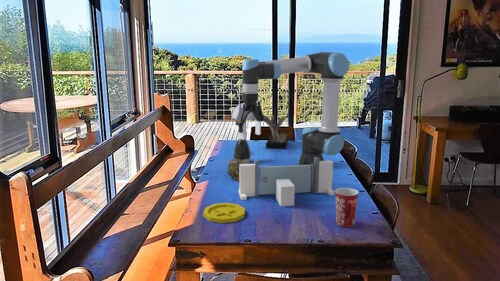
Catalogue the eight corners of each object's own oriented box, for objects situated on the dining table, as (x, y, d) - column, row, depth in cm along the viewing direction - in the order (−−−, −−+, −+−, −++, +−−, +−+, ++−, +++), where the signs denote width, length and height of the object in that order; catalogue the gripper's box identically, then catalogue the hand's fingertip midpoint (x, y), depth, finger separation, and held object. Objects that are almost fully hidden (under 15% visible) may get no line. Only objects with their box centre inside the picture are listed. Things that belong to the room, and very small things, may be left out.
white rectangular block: (288, 197, 191) (289, 179, 189) (294, 205, 181) (294, 186, 179) (275, 198, 190) (276, 179, 188) (280, 206, 180) (281, 186, 178)
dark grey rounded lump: (231, 165, 242) (231, 139, 239) (236, 160, 252) (235, 135, 248) (248, 166, 240) (248, 140, 236) (252, 161, 249) (252, 136, 246)
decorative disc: (201, 223, 164) (200, 218, 163) (207, 206, 181) (207, 202, 181) (243, 224, 163) (243, 219, 163) (245, 207, 180) (245, 203, 180)
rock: (224, 181, 212) (243, 183, 210) (225, 161, 211) (244, 162, 209) (232, 174, 231) (250, 175, 229) (233, 155, 229) (251, 157, 228)
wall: (327, 187, 204) (329, 154, 200) (334, 195, 194) (336, 160, 190) (238, 192, 197) (238, 157, 194) (241, 199, 188) (241, 163, 184)
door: (312, 191, 198) (313, 163, 195) (314, 193, 195) (315, 165, 192) (259, 194, 195) (259, 165, 191) (260, 196, 192) (260, 167, 188)
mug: (330, 219, 167) (332, 187, 164) (352, 218, 168) (354, 187, 165) (339, 233, 155) (341, 199, 152) (363, 232, 155) (365, 198, 152)
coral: (285, 150, 275) (286, 118, 270) (255, 149, 279) (255, 117, 274) (289, 142, 299) (289, 112, 294) (261, 140, 303) (261, 111, 298)
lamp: (263, 152, 270) (263, 102, 263) (249, 158, 256) (249, 105, 249) (241, 149, 279) (241, 100, 272) (226, 154, 265) (226, 103, 258)
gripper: (258, 89, 207) (258, 131, 212) (227, 94, 187) (227, 140, 192) (271, 90, 203) (270, 133, 207) (241, 95, 183) (240, 142, 187)
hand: (250, 136), depth 199 cm, fingers open, 13 cm apart
